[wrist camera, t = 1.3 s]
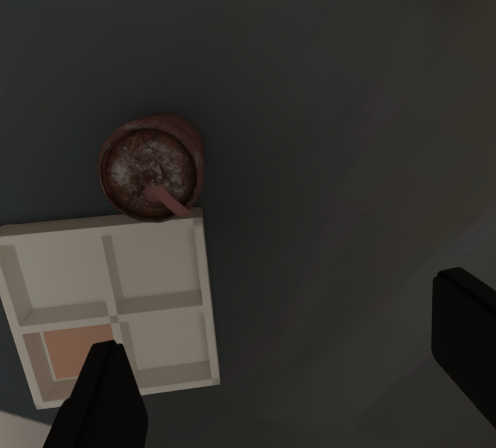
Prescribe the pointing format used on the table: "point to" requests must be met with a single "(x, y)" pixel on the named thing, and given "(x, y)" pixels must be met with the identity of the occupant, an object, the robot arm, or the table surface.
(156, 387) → the divided tray
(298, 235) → the table surface
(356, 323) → the table surface
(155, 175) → the can
